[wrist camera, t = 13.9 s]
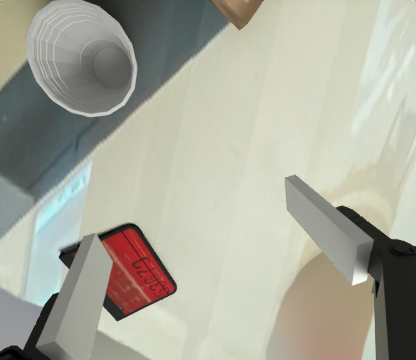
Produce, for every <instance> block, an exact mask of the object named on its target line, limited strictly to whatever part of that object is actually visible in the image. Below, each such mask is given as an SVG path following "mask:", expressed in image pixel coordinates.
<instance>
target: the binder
mask: <svg viewBox="0 0 416 360" xmlns="http://www.w3.org/2000/svg"><path fill="white" fill-rule="evenodd" d="M98 238H99V239H100V241H101V243H102V244H103V246H104V248H105V249H106V251H107V253H108V254H109V256H110V257H111V259H112V261H113V264H112V268H111V273H110V277H109V281H108V285H107V290H106V294H105V298H104V302H103V306H104V308H105V309H106V310H107V311H108V312H109V313H110V314H111V315H112V316H113V317H114V318H115V320H116V321H119V320H121V319H123V318H125V317H127V316H129V315H131V314H133V313H135V312H137V311H139V310H141V309H143V308H145V307H147V306H149V305H151V304H153V303H156V302H158V301H160V300H162V299H164V298H166V297H168V296H170V295H172V294H174V293H175V292H176V290H177V286H176V283H175V282H174V281H173V280H172V278H171V277H170V275H169V274H168V272H167V271H166V269H165V268H164V267H163V265H162V263H161V262H160V260H159V259H158V257H157V256H156V254H155V253H154V251H153V250H152V248H151V247H150V245H149V244H148V242H147V241H146V239H145V238H144V235H143V233H142V231H141V230H140V228H139V227H138V226H136V225H134V224H127V225H124V226H122V227H120V228H117V229H115V230H112V231H110V232H107V233H105V234H103V235H101V236H98ZM77 247H78V249H79V247H80V245H78V246H77ZM78 249H76V250H73V251H71V252H69V253H67V254H64V253H63V252H62V253H61V254H60V256H59V259H60V260H61V261H62V262H63V263H64V264H65V265H66V266H67V267H68V268H69V269H70V267H71V265H72V263H73V260H74V258H75V256H76V254H77V251H78Z"/></svg>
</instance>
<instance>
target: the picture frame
mask: <svg viewBox="0 0 416 360" xmlns="http://www.w3.org/2000/svg"><path fill="white" fill-rule="evenodd" d="M210 1H211V2H212V3H213V4H214V5H215V6H216V7H217V8H218V9H219V10H220V11H221V12H222V13H223V14H224V15H225V16H226V17H227V18H228V19H229V20H230V21H231V22H232V23H233V24H234V25H235V26H236V27H237V28H238V29H239V30H240V29H242V28H243V27H244V26H245V25H247V24H248V22H249V21H250V19H251V18H252V16H253V15H254V14H255V12H256V11H257V9H258V8H259V6H260V5H261V4H262V2H263V1H264V0H210Z"/></svg>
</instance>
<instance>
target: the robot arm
mask: <svg viewBox="0 0 416 360" xmlns="http://www.w3.org/2000/svg"><path fill="white" fill-rule="evenodd" d="M285 189H286V205H287V210H288V211H289V213H290V214H291V215H292V216H293V217H294V218H295V220H296V221H297V222H298V223H299V224H300V225H301V227H302V228H303V229H304V230H305V231H306V232H307V234H308V235H309V236H310V237H311V238H312V239H313V241H314V242H315V243H316V244H317V245H318V246H319V248H320V249H321V250H322V251H323V252H324V253H325V254H326V256H327V257H328V258H329V259H330V260H331V261H332V263H333V264H334V265H335V266H336V267H337V268H338V270H339V271H340V272H341V273H342V274H343V275H344V277H345V278H346V279H347V280H348V281H349V282H350V284H351V285H355V284H357V283H361V282H364V281H366V280H367V275H368V273H369V274H370V275H371V276H372V277H373V278H374V283H373V288H372V293H374V312H375V343H376V360H416V246H413V245H411V244H409V243H407V242H405V241H402V240H398V239H390V238H389V237H388V236H386V235H385V234H384V233H383V232H381V231H380V230H379V229H377V228H376V227H375V226H373V225H372V224H371V223H369V222H368V221H366V219H364V218H363V217H362V216H360V215H359V214H358V213H356V212H355V211H354V210H352V209H350V208H348V207H345V206H339V207H336V208H335V207H333V206H332V205H331V204H330V203H329V202H327V201H326V200H325V199H324V198H323V197H321V196H320V195H319V194H318V193H317V192H315V191H314V190H313V189H312V188H311V187H309V186H308V185H307V184H306V183H305V182H303V181H302V180H301V179H300V178H299V177H297V176H296V175H293V176H289V177H286V178H285ZM112 264H113V261H112V259H111V257H110V256H109V254H108V253H107V251H106V249H105V248H104V246H103V244H102V243H101V241H100V239H99V238H98V236H97V234H96V233H94V234H90V235H87V236H84V238H83V240H82V242H81V244H80V247H79V249H78V251H77V254H76V256H75V258H74V260H73V263H72V265H71V267H70V269H69V272H68V274H67V276H66V279H65V281H64V283H63V285H62V288H61V290H60V292H58V293H55V294H53V295H52V296H51V297H50V298H49V300H48V301H47V302H46V303H45V305H44V307H43V309H42V311H41V313H40V316H39V318H38V320H37V322H36V325H35V326H34V328H33V330H32V332H31V334H30V336H29V339H28V341H27V343H26V345H25V347H24V349H23V350H22V349H20V348H19V347H18V346H10V347H7V348H5V349H3V350H2V351H0V360H90V357H91V353H92V348H93V344H94V340H95V336H96V332H97V328H98V323H99V319H100V315H101V311H102V306H103V302H104V298H105V294H106V290H107V285H108V281H109V277H110V273H111V268H112Z"/></svg>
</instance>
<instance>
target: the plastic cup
mask: <svg viewBox="0 0 416 360" xmlns="http://www.w3.org/2000/svg"><path fill="white" fill-rule="evenodd" d="M27 59H28V61H29V64H30V67H31V69H32V72H33V74H34V77H35V79H36V81H37V83H38V84H39V85H40V86H41V87H42V89H43V90H44V91H45V92H46V94H47V95H48V96H49V97H50V98H51V100H53V101H54V102H56V103H57V104H59V105H60V106H62V107H63V108H65V109H66V110H68V111H70V112H72V113H76V114H80V115H84V116H88V117H96V116H103V115H109V114H111V113H113V112H114V111H116V110H117V109H119V108H120V107H122V106H124V105H125V103H126V102H127V100H128V98H129V97H130V95H131V94H132V92H133V90H134V88H135V81H136V75H137V64H136V59H135V55H134V50H133V46H132V43H131V42H130V40H129V39H128V37H127V35H126V34H125V32H124V30H123V29H122V27H121V25H120V24H119V22H117V21H116V20H115V19H114V18H113V17H111V16H110V15H109V14H108V13H107V12H105V11H104V10H103V9H102V8H101V7H99V6H97V5H94V4H91V3H88V2H85V1H82V0H57V1H52V2H51V3H49V4H48V5H47V6H45V7H44V8H43V9H41V10H40V11H39V12H37V13H36V14H35V16H34V18H33V21H32V23H31V25H30V28H29V30H28V33H27Z"/></svg>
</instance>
